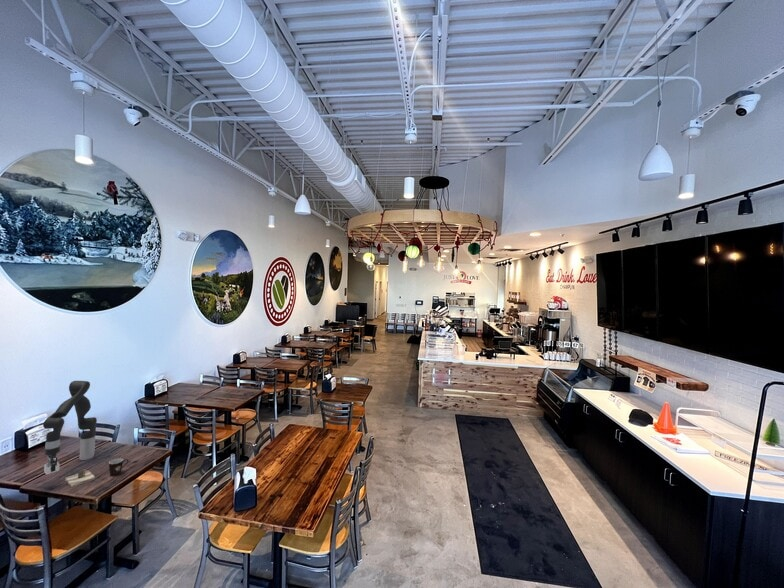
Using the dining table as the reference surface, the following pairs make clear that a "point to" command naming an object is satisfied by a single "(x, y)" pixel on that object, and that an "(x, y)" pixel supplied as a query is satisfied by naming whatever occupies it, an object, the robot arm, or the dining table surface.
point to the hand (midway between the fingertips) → (51, 469)
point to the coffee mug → (116, 466)
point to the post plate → (80, 478)
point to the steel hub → (48, 468)
